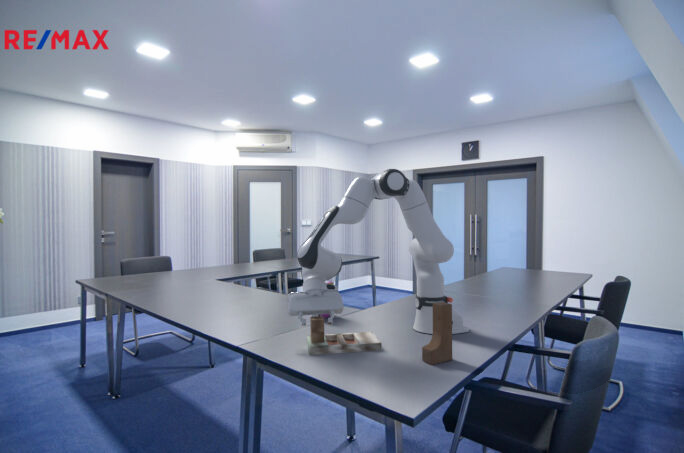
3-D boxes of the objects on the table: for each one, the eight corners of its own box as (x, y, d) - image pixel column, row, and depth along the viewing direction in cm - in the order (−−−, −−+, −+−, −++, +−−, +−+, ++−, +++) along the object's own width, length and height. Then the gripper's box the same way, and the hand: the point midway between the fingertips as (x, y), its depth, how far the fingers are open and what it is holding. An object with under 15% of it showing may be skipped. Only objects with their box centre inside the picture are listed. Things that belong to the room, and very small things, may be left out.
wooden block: (431, 365, 106) (431, 307, 106) (421, 360, 110) (421, 304, 110) (452, 360, 110) (452, 304, 110) (442, 355, 114) (442, 301, 114)
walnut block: (322, 338, 125) (322, 316, 125) (324, 342, 120) (324, 319, 120) (310, 339, 124) (310, 316, 124) (311, 343, 119) (311, 320, 119)
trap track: (372, 338, 132) (371, 331, 132) (381, 350, 119) (381, 342, 119) (306, 342, 128) (306, 335, 128) (309, 355, 115) (309, 347, 115)
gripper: (287, 287, 127) (287, 321, 118) (341, 285, 131) (346, 318, 121) (287, 297, 132) (287, 330, 122) (339, 295, 135) (344, 327, 125)
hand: (317, 324), depth 122 cm, fingers open, 8 cm apart
